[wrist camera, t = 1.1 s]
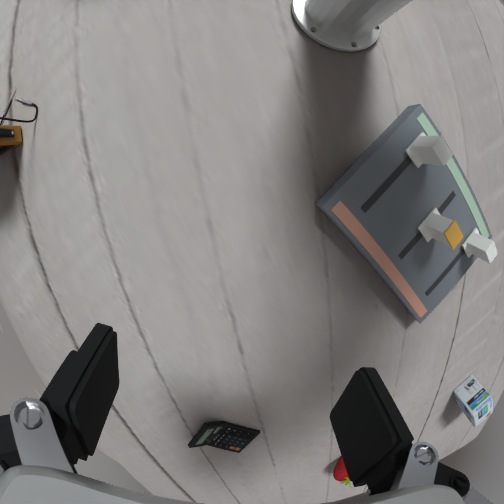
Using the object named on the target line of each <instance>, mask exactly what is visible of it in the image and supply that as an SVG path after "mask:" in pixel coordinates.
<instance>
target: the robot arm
mask: <svg viewBox="0 0 504 504" xmlns="http://www.w3.org/2000/svg"><path fill="white" fill-rule="evenodd" d="M411 1H412V0H292V3H291V6H292V13H293V16H294V18H295V20H296V22H297V24H298V25H299V26H300V28H301V29H302V30H303V31H304V32H305V33H306V34H307V35H308V36H309V37H311V38H312V39H314V40H315V41H317V42H318V43H320V44H322V45H324V46H326V47H329V48H332V49H334V50H339V51H345V52H355V51H361V50H364V49H366V48H368V47H370V46H371V45H372V44H374V43H375V42H376V41H377V39H378V38H379V36H380V33H381V26H382V25H381V23H382V22H383V21H385V20H386V19H387V18H389V17H390V16H391V15H393V14H394V13H395V12H397V11H398V10H399V9H401V8H402V7H404V6H405V5H406V4H408V3H409V2H411ZM499 1H500V2H501V3H502V4H503V5H504V0H499ZM312 31H313V32H312ZM352 46H353V47H352ZM118 387H119V370H118V352H117V333H116V332H114V331H113V328H112V327H111V326H107V325H104V324H101V323H97V324H96V325H95V326H94V328H93V329H92V331H91V332H90V334H89V335H88V337H87V338H86V340H85V341H84V343H83V344H82V346H81V347H80V349H79V350H78V352H77V351H74V350H73V351H71V352H70V353H69V354H68V356H67V357H66V359H65V360H64V362H63V363H62V365H61V366H60V368H59V369H58V371H57V372H56V374H55V375H54V377H53V379H52V380H51V382H50V383H49V385H48V387H47V388H46V390H45V391H44V393H43V395H42V396H41V398H40V400H38V399H35V398H31V397H26V398H21V399H19V400H17V401H16V402H15V403H14V404H13V405H12V406H11V410H10V414H9V415H3V416H0V504H203V503H195V502H187V501H181V500H175V499H169V498H164V497H159V496H154V495H150V494H145V493H141V492H137V491H133V490H129V489H125V488H122V487H118V486H114V485H111V484H108V483H105V482H102V481H98V480H95V479H91V478H88V477H85V476H82V475H79V474H78V472H77V470H76V468H75V466H74V464H77V461H78V458H79V459H82V460H85V461H86V460H87V458H88V455H90V456H92V455H93V454H94V452H95V449H96V446H97V443H98V440H99V438H100V435H101V432H102V429H103V427H104V424H105V421H106V419H107V416H108V413H109V411H110V408H111V406H112V403H113V401H114V398H115V396H116V393H117V391H118ZM330 420H331V423H332V427H333V430H334V433H335V436H336V439H337V442H338V445H339V448H340V452H341V455H342V458H343V461H344V464H345V468H346V471H347V474H348V477H349V480H350V481H352V482H353V485H354V487H357V486H363V485H366V484H367V485H368V489H367V491H366V493H365V495H364V497H360V498H355V499H349V500H343V501H337V502H330V503H322V504H493V503H492V502H490V501H489V500H488V499H487V498H485V497H484V496H483V495H482V494H480V493H479V492H478V491H477V490H475V489H474V488H473V487H472V488H470V483H469V480H468V478H467V477H466V476H465V475H464V474H463V473H461V472H459V471H457V470H455V469H452V468H450V467H448V466H446V465H444V464H442V463H440V462H438V457H439V456H438V453H437V451H436V449H435V448H434V447H433V446H432V445H431V444H429V443H427V442H416V443H415V444H412V441H413V440H414V438H413V436H412V434H411V432H410V430H409V428H408V426H407V425H406V423H405V421H404V419H403V417H402V415H401V413H400V412H399V410H398V408H397V406H396V404H395V402H394V401H393V399H392V397H391V395H390V393H389V392H388V390H387V388H386V386H385V385H384V383H383V381H382V379H381V377H380V376H379V374H378V372H377V370H376V369H375V368H367V367H362V368H360V369H359V370H358V371H356V372H355V374H354V375H353V377H352V379H351V380H350V382H349V384H348V385H347V387H346V389H345V390H344V392H343V394H342V395H341V397H340V398H339V400H338V402H337V403H336V405H335V406H334V408H333V409H332V411H331V413H330ZM469 488H470V489H469Z"/></svg>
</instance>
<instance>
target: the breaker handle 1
mask: <svg viewBox="0 0 504 504" xmlns="http://www.w3.org/2000/svg"><path fill="white" fill-rule="evenodd" d="M405 152H406V153H407V154H408V156H409V157H410V159H411V160H412V162H413V163H414V164H415V166H416V167H417V168H419V167H420V166H421V165H422V164H430V165H438V166H445V164H446V163H447V162H448V160H449V159H450V158H451V157H452V155H453V154H452V152H451V151H450V149H449V147H448V145H447V144H446V142H445V141H444V139H443V137H442V136H426V135H425V134H424V132H421V133H420V135H419V136H418V137H417V138H416V139H415V140H414V141H413V143H412V144H411V145H410V146H409V147H408V148H407V149H406V150H405Z"/></svg>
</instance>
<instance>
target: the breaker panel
mask: <svg viewBox="0 0 504 504" xmlns="http://www.w3.org/2000/svg"><path fill="white" fill-rule="evenodd" d="M421 132H424V134H425V135H426V136H442V135H441V134H440V132H439V130H438V129H437V127H436V126H435V124H434V123H433V121H432V120H431V118H430V117H429V116H428V114H427V113H426V111H425V110H424V108H423V107H422V106H421V104H417V105H412V106H408V107H407V108H406V109H405V110H404V111H403V112H402V113H401V114H400V116H399V117H398V118H397V119H396V120H395V121H394V122H393V123H392V124H391V125H390V126H389V127H388V128H387V129H386V130H385V131H384V132H383V133H382V134H381V135H380V136H379V138H378V139H377V140H376V141H375V142H374V143H373V144H372V145H371V146H370V147H369V148H368V149H367V150H366V151H365V152H364V153H363V154H362V155H361V156H360V157H359V158H358V159H357V160H356V161H355V162H354V164H353V165H352V166H351V167H350V168H349V169H348V170H347V171H346V172H345V173H344V174H343V175H342V176H341V177H340V178H339V179H338V180H337V181H336V182H335V183H334V184H333V185H332V186H331V187H330V188H329V189H328V190H327V191H326V192H325V193H324V194H323V195H322V197H321V198H320V199H319V200H318V201H317V202H316V203H315V204H316V205H317V206H318V207H319V208H320V209H321V210H322V211H323V212H324V214H325V215H326V216H327V217H328V218H329V219H330V220H331V221H332V222H333V223H334V224H335V225H336V226H337V227H338V229H339V230H340V231H341V232H342V233H343V234H344V235H345V236H346V237H347V238H348V240H349V241H350V242H351V243H352V244H353V245H354V246H355V247H356V249H357V250H358V251H359V252H360V253H361V254H362V255H363V256H364V258H365V259H366V260H367V261H368V262H369V263H370V265H371V266H372V267H373V268H374V269H375V270H376V272H377V273H378V274H379V275H380V276H381V278H382V279H383V280H384V281H385V282H386V284H387V285H388V286H389V287H390V289H391V290H392V291H393V292H394V293H395V295H396V296H397V297H398V298H399V300H400V301H401V302H402V303H403V305H404V306H405V307H406V309H407V310H408V311H409V312H410V314H411V315H412V316H413V317H414V318H415V319H416V320H417V321H418V322H419V323H421V322H422V321H423V320H424V319H425V318H426V317H427V316H428V315H429V314H430V313H431V312H432V311H433V310H434V309H435V307H436V306H437V305H438V304H439V303H440V302H441V301H442V300H443V299H444V298H445V296H446V295H447V294H448V293H449V292H450V291H451V289H452V288H453V287H454V286H455V285H456V284H457V282H458V281H459V280H460V279H461V278H462V276H463V275H464V274H465V273H466V271H467V270H468V269H469V268H470V266H471V265H472V264H473V262H474V261H475V260H476V258H477V256H475V255H473V254H472V255H471V256H470V257H469V258H468V257H467V255H466V253H465V251H464V249H463V247H462V245H463V244H464V242H465V241H466V240H467V238H468V237H469V236H470V234H471V233H472V232H473V230H474V229H475V228H477V229H478V231H479V234H480V235H482V236H484V237H486V238H488V239H491V238H492V235H491V233H490V230H489V227H488V225H487V222H486V220H485V218H484V215H483V213H482V211H481V208H480V206H479V204H478V202H477V199H476V197H475V195H474V193H473V191H472V189H471V187H470V185H469V183H468V181H467V179H466V177H465V175H464V173H463V171H462V169H461V167H460V166H459V164H458V162H457V160H456V158H455V157H454V155H452V157H451V158H450V159H449V160H448V162H447V163H446V164H445V166H438V165H430V164H422V165H421V166H420V167H419V168H417V167H416V166H415V164H414V163H413V162H412V160H411V159H410V157H409V156H408V154H407V153H406V152H405V150H406V149H407V148H408V147H409V146H410V145H411V144H412V143H413V141H414V140H415V139H416V138H417V137H418V136H419V135H420V133H421ZM443 139H444V138H443ZM444 141H445V140H444ZM445 142H446V141H445ZM446 144H447V143H446ZM448 147H449V146H448ZM449 149H450V148H449ZM450 151H451V150H450ZM451 152H452V151H451ZM452 154H453V153H452ZM434 208H437V210H438V211H439V213H440V215H441V216H443V217H446V218H448V219H451V220H455V221H456V223H457V225H458V227H459V229H460V231H461V233H462V235H463V238H462V239H461V241H460V242H459V243H458V245H457V246H456V247H455V248H454V250H453V249H452V248H451V247H449V246H447V245H445V244H443V243H441V242H439V241H437V240H435V239H433V238H432V239H431V240H430V241H429V242H426V240H425V238H424V237H423V235H422V234H421V232H420V231H419V229H418V227H419V226H420V224H421V223H422V222H423V221H424V220H425V219H426V217H427V216H428V215H429V214H430V213H431V211H432V210H433V209H434Z"/></svg>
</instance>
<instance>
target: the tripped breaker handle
mask: <svg viewBox="0 0 504 504" xmlns="http://www.w3.org/2000/svg"><path fill="white" fill-rule="evenodd" d="M418 229H419V231H420V232H421V234H422V235H423V237H424V238H425V240H426V242H429V241H430V240H431V239H432V238H433V239H435V240H437V241H439V242H441V243H443V244H445V245H447V246H449V247H451V248H452V249H453V250H454V248H455V247H456V246H457V245H458V243H459V242H460V241H461V239H462V238H463V235H462V233H461V231H460V229H459V227H458V225H457V223H456V221H455V220H451V219H448V218H446V217H443V216H441V215H440V213H439V211H438V210H437V208H434V209H433V210H432V211H431V213H430V214H429V215H428V216H427V217H426V219H425V220H424V221H423V222H422V223H421V224H420V226H419V227H418Z"/></svg>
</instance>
